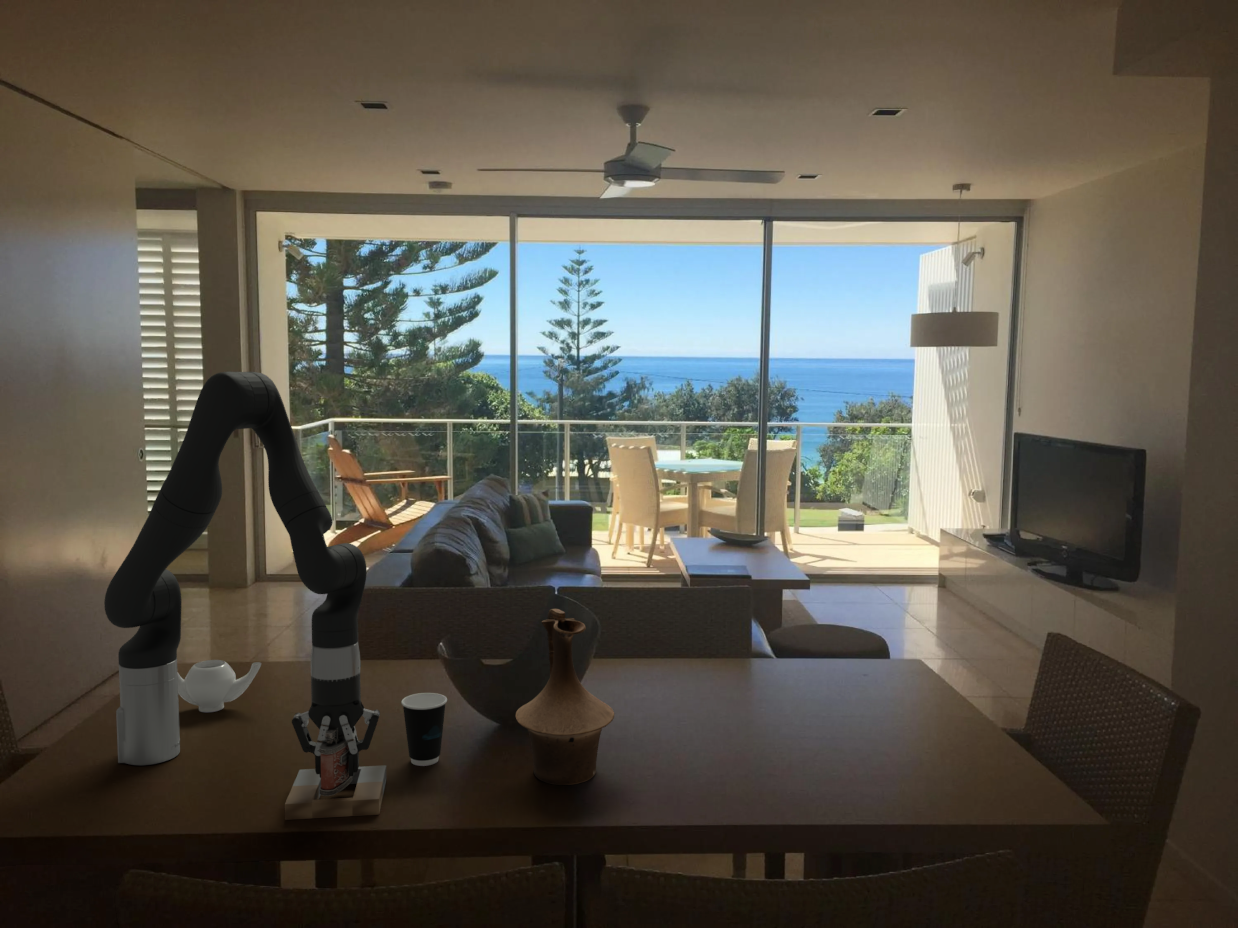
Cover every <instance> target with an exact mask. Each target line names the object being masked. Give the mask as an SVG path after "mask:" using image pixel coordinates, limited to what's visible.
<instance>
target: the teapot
mask: <svg viewBox="0 0 1238 928" xmlns="http://www.w3.org/2000/svg"><path fill="white" fill-rule="evenodd" d="M261 666H262V662H259V661H258V662H253V663H252V662H251V666H250V669H249V671H248V672H247V674H245V675H243V676H242V677H240V678H237V677H236V676H237V675H236V673H235V671H234V670H233V668H232V667H231V665H229V663H228V662H226V661H225V660H222V659H208V660H203V661H198V662H197V663H194V664H193V665H192V666H191V668H190V669H189V670H188V672H187V674H186V676H185V678H183V677H182V676H181V675H180V673H179V672H178V671H177V674H178V696H180V697H181V698H182V699H183V700H184V701H185V702H187V703H189V704H191V705H193V706H198V711H199V712H201V713H214V712H218V711H221V710H223V709H224V708H225V703H230V702H232V701H235V700H236V699H238V698H239V697H240V696H242V694H243V693H245V691H246V690H247V689H248V688H249V686H250V685H251V683H252V682H253V680H254V679H255V677H256V676H257V674H258V672H259V671H260V669H261Z"/></svg>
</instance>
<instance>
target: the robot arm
mask: <svg viewBox="0 0 1238 928" xmlns="http://www.w3.org/2000/svg"><path fill="white" fill-rule="evenodd" d="M247 429H252V430H253V432H254V433H255V434H256V435H257V437H258V440H260V442H261V443H262V445H263V448H264V449H265V453H266V458H267V465H268V467H267V469H268V471H267V472H268V473H267V475H268V477H267V479H268V480H267V481H268V492H269V496H270V499H271V502H272V505H273V507H274V510H275V511H276V514H277V515H278V517H279V519H280V520H281V522H282V524H283V526H284V528H285V530H286V532H287V533H288V535H289V540H290V546H291V550H292V554H293V558H294V559H293V560H294V563H295V567H296V571H297V574H298V577H299V580H301V582H302V584H303V586H305V587H306V589H308V590H309V591H310V592H312V593H314V594H316V595H326V598H325V600H324V601H323V602H322V603H321V604H320V605H318V606H317V607H316V608H315V609H314V610H313V612H312V615H311V653H310V687H311V689H310V692H311V693H310V694H311V696H310V697H311V705H310V708H308V710H307V711H305V712H302V713H301V712H296V713H295V714H294V715H293V718H292V719H291V724H292V726H293V727H292V728H293V729H294V732H295V734H296V737H297V740H298V742H299V744H300V746H301V749H302V751H303V752H304V753H311V754H313V755H314V764H315V766H314V767H315V768H314V769H315V772H316V774H320V778H321V753H320V752H319V747H320V746H321V744H322V743H325V741H326V739H325V732H327V731H328V730H334V729H336V728H338V732H339V734H344V736H345V739H346V742H347V743H348V747H349V750H350V752H349V776H354V773H355V772H357V771H358V768H359V767H360V752H361V751H363V750H364V751H367V750H368V749H369V748H370V745H371V741H372V739H373V736H374V734H375V731H376V728H377V725H378V723H379V718H380V715H381V711H380V710H379V709H374V710H371V709H367V708H365V707H364V704H363V702H362V700H361V697H362V696H361V692H362V691H361V689H362V687H361V667H362V665H361V664H362V663H361V653H360V647H359V623H358V614H359V611H360V607H361V605H362V599H363V595H364V590H365V587H366V581H367V572H368V571H367V561H366V558H365V556H364V554H363V552H362V550H360V548H359V547H358V546H357V545H355V544H354V543H353V544H352V543H350V542H349V543H348V542H344V543H343V542H342V543H338V544H334V545H329V546H328V545H327V543H326V540H325V536H324V534H326V533H328V532H329V531H330V529H331V528H332V526H333V517H332V514H331V513H330V511H329V508H328V506H327V505H326V503H325V501H324V499H323V498H322V496H321V493H320V492H319V490H318V489H317V486H316V485H315V483H314V480H313V479H312V477H311V476H310V472H309V471H308V469H307V466H306V464H305V462H304V459H303V457H302V453H301V451H300V448H299V445H298V442H297V438H296V435H295V433H294V430H293V427H292V425H291V422H290V419H289V415H288V413H287V410H286V407H285V404H284V402H283V399H282V397H281V394H280V392H279V389H278V388H277V385H276V384H275V383H274V381H273V380H272V379H271V377H269V376H268V375H266V374H264V373H262V372H257V371H223V372H222V371H221V372H217V373H215V374H213V375H212V376H209V378H208V379H207V380H206V381H205V382H204V384H203V386H202V388H201V390H200V393H199V395H198V397H197V400H196V402H195V406H194V409H193V412H192V415H191V418H190V419H189V424H188V427H187V430H186V432H185V434H184V435H185V436H184V438H183V440H182V443H181V445H180V448H179V450H178V451H177V454H176V457H175V459H174V461H173V464H172V466H171V468H170V470H169V471H168V474H167V476H166V478H165V479H164V482H163V483H162V485H161V487H160V489H159V491H158V494H157V495H156V498H155V500H154V502H153V503H152V507H151V509H150V512H149V514H148V516H147V518H146V520H145V522H144V524H143V526H142V528H141V530H140V531H139V534H138V535H137V537H136V539H135V541H134V543H133V545H132V547H131V549H130V550H129V552H128V553H127V554H126V557H125V559H124V560H123V561H122V563H121V564H120V566H119V568H118V569H117V571H116V572H115V574H114V575H113V577H112V578H111V579H110V582H109V584H108V586H107V589H106V591H105V595H104V611H105V615H106V618H107V619H108V621H109V622H110V623H111V624H112V625H114V626H116V627H118V628H122V629H131V628H138V629H137V631H136V632H135V634H133V636H132V637H130V639H129V640H127V641H126V642H125V643H124V644H123V645H121V647H120V648H119V649H118V675H119V677H118V678H119V681H118V682H119V698H120V700H119V701H120V706H119V707H118V708H117V709H116V711H115V713H116V714H115V715H116V735H117V736H116V737H117V738H116V743H117V763H118V764H128V765H132V766H150V765H156V764H160V763H164V762H167V761H169V760H172V759H174V758H175V757H177V756H178V755H179V754H180V752H181V738H180V710H179V709H180V707H179V706H180V705H179V703H180V702H179V694H178V674H177V672H178V648H179V645H180V643H181V638H182V637H181V636H182V593H181V588H180V583H179V582H178V579H177V577H176V576H175V575H174V574H173V572H171V570H169V569H167V568H168V567H169V566H170V565H171V564H172V563H173V562H174V561H175V560H176V559H177V558H178V557H180V555H182V554H183V553H184V552H185V551H187V550H188V549H189V548H190V547H191V546H192V545H194V543H195V542H196V541H197V540H198V539H199V538H200V537H201V536H202V535H203V533H204V532H206V530H207V528H208V527H209V525H210V523H211V521H212V519H213V517H214V515H215V513H216V511H217V509H218V507H219V505H220V501H221V500H222V495H223V484H222V478H221V472H220V471H221V470H220V467H219V465H220V464H219V462H220V458H221V454H222V453H223V451H224V448H225V446H226V445H227V444H226V443H227V442H228V440H229V438H230V437H231V435H232V434H233V433H234V432H235V430H247ZM361 717H363V718H364V724H366V725H367V727H366V730H365V732H364V736H363V738H362V739H360V740H359V739H358V738H359V737H358V735H357V729H356V725H357V723H358V721H359V720H360V719H361ZM309 719H310V720H311V722H312V723H314V725H315V726H316V727H317V728H318V730H319V733H318V736H317V740H316V742H315V741H314V740H313V739H312V736H311V734H310V731H309V729H308V724H309V722H310V721H309Z"/></svg>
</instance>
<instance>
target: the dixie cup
mask: <svg viewBox="0 0 1238 928" xmlns="http://www.w3.org/2000/svg"><path fill="white" fill-rule="evenodd" d="M447 702H448V698H447V696H446V695H443V694H441V693H437V692H419V693H413V694H410V695H407V696H405V697H404V698H402V700H401V706H402V708H403V716H404V723H405V724H404V725H405V732H406V733H405V734H406V740H407V741H406V742H407V750H408V757H409V758H410V763H411V764H413V765H415V766H420V767H425V766H426V767H427V766H431V765H434V764H437V763H438V762H439V758H440V755H441V753H442V752H441V751H442V741H443V734H444V733H443V731H444V723H445V713H446V712H445V711H446V703H447Z"/></svg>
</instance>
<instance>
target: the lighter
mask: <svg viewBox="0 0 1238 928" xmlns="http://www.w3.org/2000/svg"><path fill="white" fill-rule="evenodd" d="M325 739H326V741H325V743H322V744H321V746H320V747H319V752H320V753H321V787H320V796H323V797H330V796H335V795H336V794H339V793H340V792H341V791H343V790H344V789H346V787H348V786H349V785H350V784H349V783H350V782H351V781H352V779H353V776H349V752H350V750H349V747H348V743H347V742H346V739H345V736H344V734H339V732H338V728H336V729H334V730H328V731H327V732H325Z"/></svg>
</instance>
